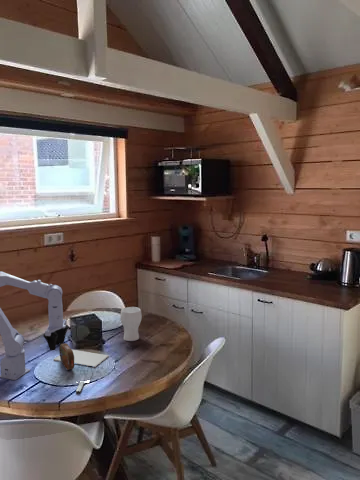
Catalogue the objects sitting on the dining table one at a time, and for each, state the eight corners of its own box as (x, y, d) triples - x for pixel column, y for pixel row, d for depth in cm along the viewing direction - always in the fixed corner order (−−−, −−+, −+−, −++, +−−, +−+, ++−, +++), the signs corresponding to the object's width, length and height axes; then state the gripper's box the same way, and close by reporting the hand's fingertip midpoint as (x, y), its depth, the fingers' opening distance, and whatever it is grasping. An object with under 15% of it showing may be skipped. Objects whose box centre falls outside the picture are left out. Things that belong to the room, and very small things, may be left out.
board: (95, 367, 180) (95, 366, 180) (53, 360, 186) (53, 359, 186) (108, 356, 191) (108, 355, 191) (69, 350, 198) (68, 349, 198)
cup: (143, 334, 218) (143, 306, 215) (139, 342, 207) (139, 313, 205) (123, 334, 219) (123, 306, 216) (118, 341, 208) (118, 312, 206)
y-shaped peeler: (84, 393, 158) (84, 391, 158) (71, 393, 158) (71, 391, 158) (93, 373, 175) (93, 371, 175) (81, 373, 175) (81, 371, 175)
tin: (59, 358, 187) (57, 341, 185) (66, 356, 188) (64, 339, 186) (69, 373, 174) (67, 355, 172) (76, 371, 176) (74, 353, 174)
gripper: (56, 321, 166) (57, 354, 168) (72, 310, 180) (73, 340, 182) (39, 320, 168) (41, 352, 170) (57, 309, 182) (58, 339, 184)
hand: (56, 346), depth 176 cm, fingers open, 7 cm apart
